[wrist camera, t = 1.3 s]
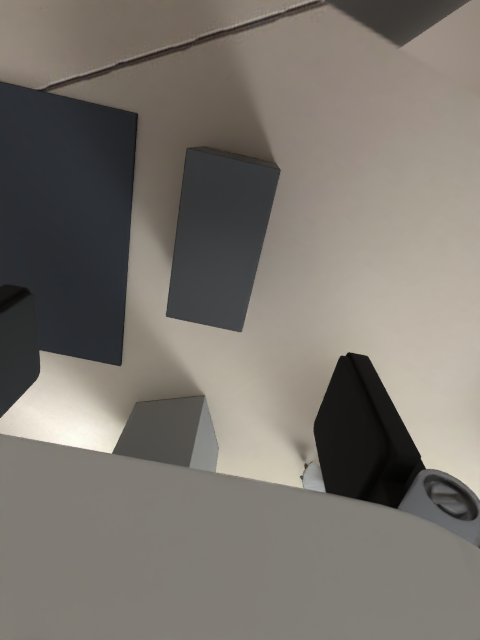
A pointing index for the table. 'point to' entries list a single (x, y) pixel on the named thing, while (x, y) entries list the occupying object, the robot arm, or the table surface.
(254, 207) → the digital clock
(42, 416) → the table surface
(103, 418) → the table surface
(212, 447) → the perfume bottle
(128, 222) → the rubber mat
